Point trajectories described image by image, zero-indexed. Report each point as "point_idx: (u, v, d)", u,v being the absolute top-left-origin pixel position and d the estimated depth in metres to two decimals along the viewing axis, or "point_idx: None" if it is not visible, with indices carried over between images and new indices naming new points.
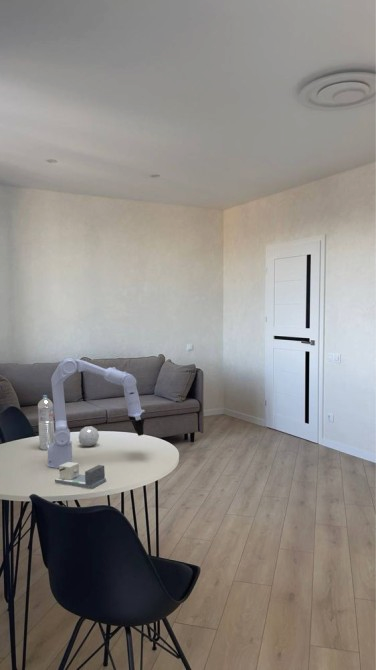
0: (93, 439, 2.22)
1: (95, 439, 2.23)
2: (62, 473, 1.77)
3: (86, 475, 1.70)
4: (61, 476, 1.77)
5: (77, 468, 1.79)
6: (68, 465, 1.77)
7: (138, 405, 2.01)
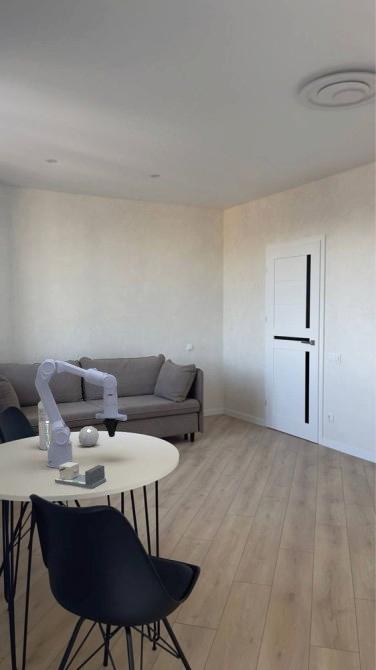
0: (93, 439, 2.22)
1: (95, 439, 2.23)
2: (62, 473, 1.77)
3: (86, 475, 1.70)
4: (61, 476, 1.77)
5: (77, 468, 1.79)
6: (68, 465, 1.77)
7: (117, 407, 2.00)
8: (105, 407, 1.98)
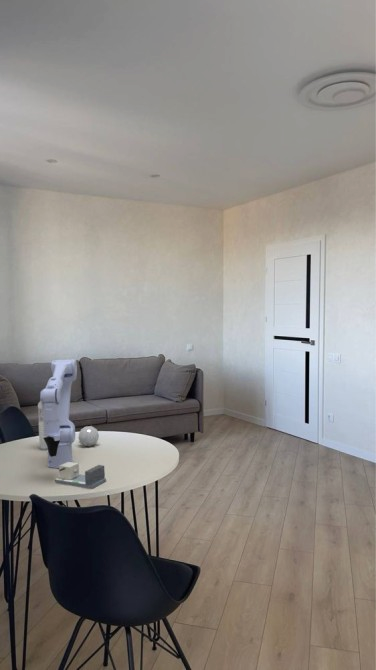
0: (93, 439, 2.22)
1: (95, 439, 2.23)
2: (62, 473, 1.77)
3: (86, 475, 1.70)
4: (61, 476, 1.77)
5: (77, 468, 1.79)
6: (68, 465, 1.77)
7: (57, 424, 1.80)
8: None
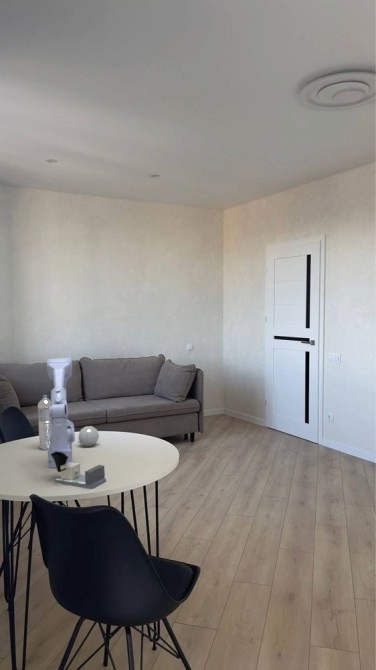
0: (93, 439, 2.23)
1: (95, 439, 2.23)
2: (63, 473, 1.76)
3: (86, 475, 1.70)
4: (62, 476, 1.77)
5: (78, 468, 1.78)
6: (69, 465, 1.77)
7: (66, 439, 1.79)
8: (52, 439, 1.78)
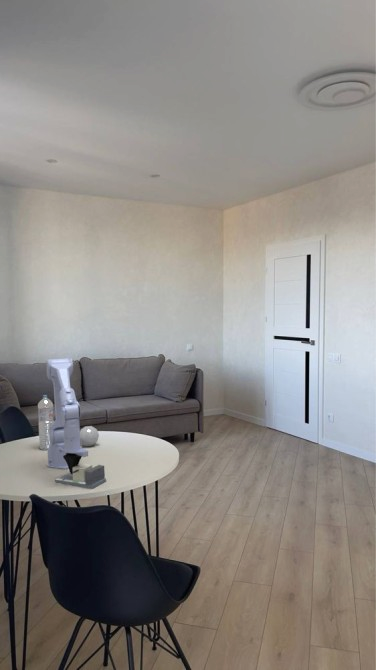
0: (93, 439, 2.23)
1: (95, 439, 2.23)
2: (75, 475, 1.74)
3: (86, 475, 1.70)
4: (74, 478, 1.74)
5: None
6: (81, 467, 1.74)
7: (79, 440, 1.77)
8: (65, 440, 1.75)
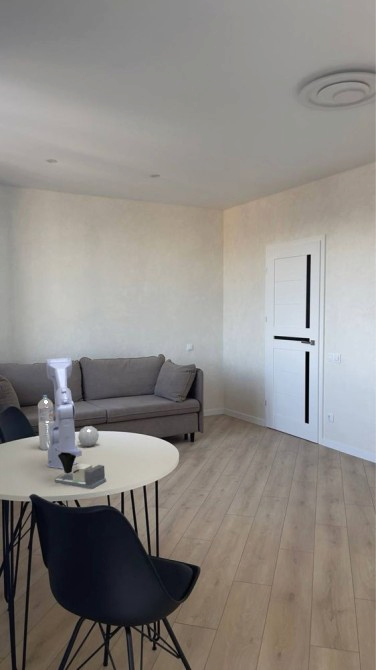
0: (93, 439, 2.23)
1: (95, 439, 2.24)
2: (75, 475, 1.74)
3: (86, 475, 1.70)
4: (74, 478, 1.74)
5: None
6: (82, 467, 1.74)
7: (74, 440, 1.78)
8: (59, 440, 1.76)
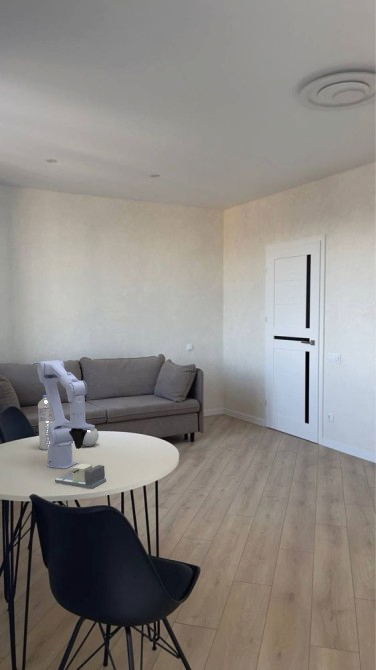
0: (93, 439, 2.23)
1: (95, 439, 2.24)
2: (75, 475, 1.74)
3: (86, 475, 1.70)
4: (74, 478, 1.74)
5: None
6: (82, 467, 1.74)
7: None
8: (71, 416, 1.82)
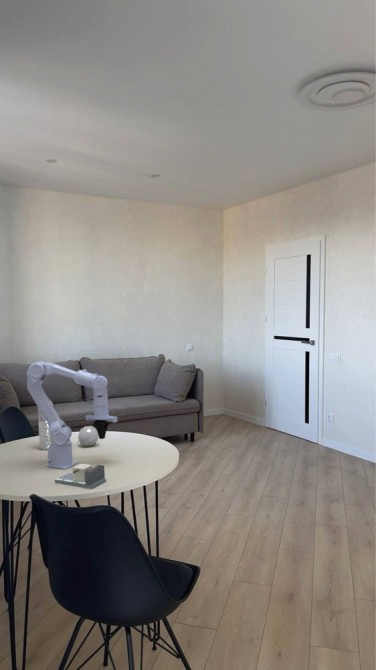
0: (93, 439, 2.23)
1: (95, 439, 2.24)
2: (75, 475, 1.74)
3: (86, 475, 1.70)
4: (74, 478, 1.74)
5: None
6: (82, 467, 1.74)
7: (107, 408, 1.98)
8: (95, 409, 1.95)
